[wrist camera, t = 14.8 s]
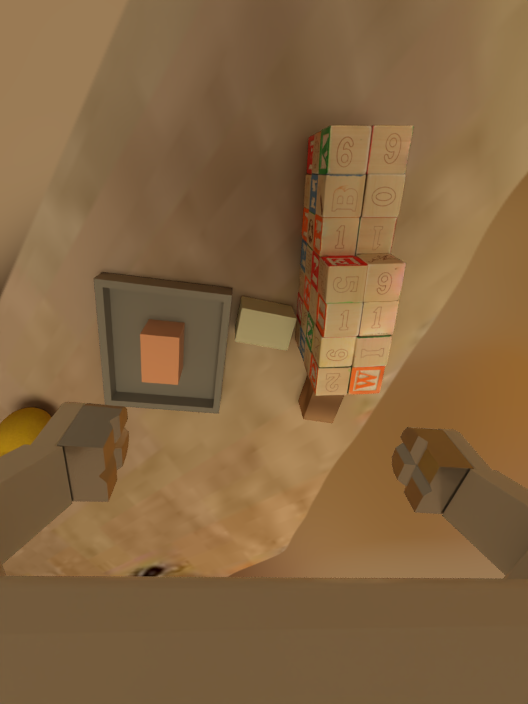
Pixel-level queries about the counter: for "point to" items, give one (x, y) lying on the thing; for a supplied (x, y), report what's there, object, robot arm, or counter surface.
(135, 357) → the charcoal tray
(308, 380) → the walnut brick
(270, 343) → the sage brick
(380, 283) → the stack of blocks
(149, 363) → the terracotta brick
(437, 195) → the counter surface
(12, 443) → the lemon
